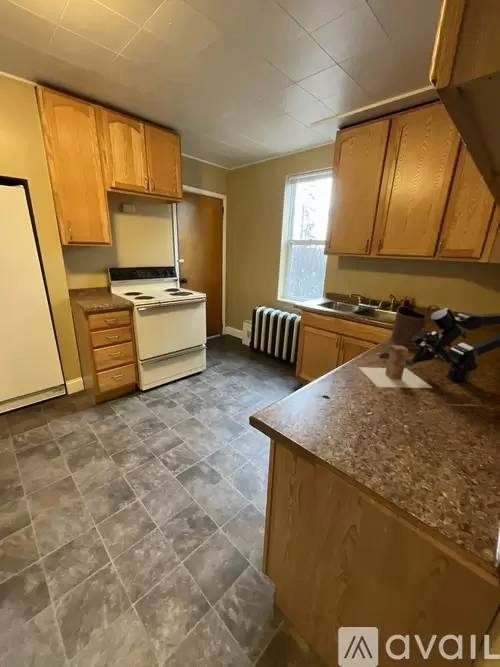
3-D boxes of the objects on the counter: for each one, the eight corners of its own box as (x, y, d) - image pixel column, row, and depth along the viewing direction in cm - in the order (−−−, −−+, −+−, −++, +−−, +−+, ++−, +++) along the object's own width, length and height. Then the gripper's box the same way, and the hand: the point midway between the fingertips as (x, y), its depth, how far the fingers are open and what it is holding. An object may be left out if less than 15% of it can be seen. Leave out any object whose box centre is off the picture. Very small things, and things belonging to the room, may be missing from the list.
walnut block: (395, 374, 118) (401, 345, 115) (401, 379, 114) (408, 349, 110) (385, 374, 118) (391, 345, 114) (390, 379, 114) (397, 349, 110)
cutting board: (406, 369, 125) (406, 368, 125) (432, 389, 108) (433, 387, 108) (358, 368, 124) (358, 367, 124) (377, 388, 107) (377, 386, 107)
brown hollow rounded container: (405, 337, 174) (413, 297, 166) (441, 351, 152) (453, 305, 145) (381, 339, 168) (389, 297, 160) (415, 353, 146) (426, 306, 139)
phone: (385, 352, 144) (416, 361, 133) (384, 354, 144) (416, 364, 134) (378, 355, 138) (411, 365, 128) (377, 358, 139) (410, 368, 128)
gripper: (420, 317, 119) (389, 341, 121) (452, 329, 101) (416, 357, 104) (433, 335, 121) (403, 358, 124) (467, 350, 104) (431, 377, 106)
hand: (412, 362), depth 114 cm, fingers closed
